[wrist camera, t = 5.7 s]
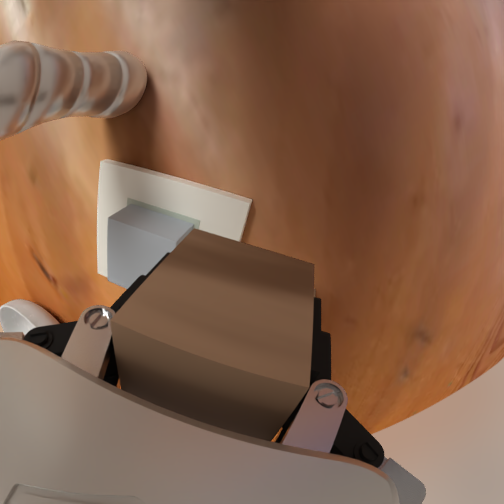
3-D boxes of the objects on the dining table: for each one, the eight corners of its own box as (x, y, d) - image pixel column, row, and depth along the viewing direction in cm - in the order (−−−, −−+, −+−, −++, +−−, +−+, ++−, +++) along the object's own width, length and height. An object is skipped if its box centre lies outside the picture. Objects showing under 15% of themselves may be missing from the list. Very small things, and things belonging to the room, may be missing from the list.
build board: (107, 159, 27) (99, 161, 26) (252, 199, 26) (249, 203, 25) (103, 268, 33) (97, 273, 32) (220, 314, 33) (217, 321, 32)
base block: (131, 203, 27) (107, 217, 24) (193, 223, 27) (176, 241, 23) (127, 261, 30) (107, 280, 27) (183, 283, 30) (167, 305, 27)
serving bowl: (48, 274, 37) (20, 298, 31) (116, 373, 44) (98, 401, 38) (8, 294, 44) (-13, 312, 38) (61, 371, 51) (46, 391, 45)
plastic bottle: (168, 84, 22) (-42, 87, 5) (121, 130, 25) (-65, 189, 8) (135, 41, 21) (-52, 21, 3) (92, 87, 23) (-82, 115, 6)
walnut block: (193, 228, 12) (110, 319, 6) (314, 264, 11) (309, 387, 6) (182, 318, 14) (126, 413, 9) (278, 349, 14) (256, 458, 8)
